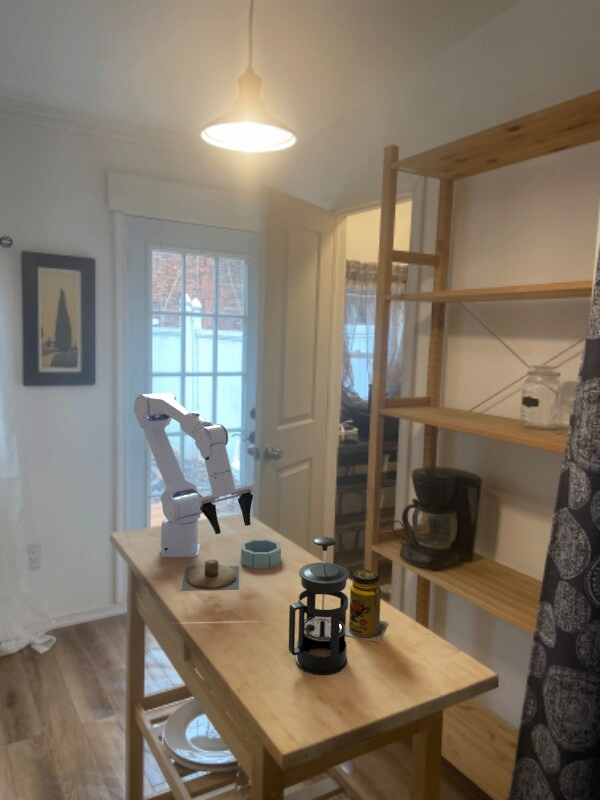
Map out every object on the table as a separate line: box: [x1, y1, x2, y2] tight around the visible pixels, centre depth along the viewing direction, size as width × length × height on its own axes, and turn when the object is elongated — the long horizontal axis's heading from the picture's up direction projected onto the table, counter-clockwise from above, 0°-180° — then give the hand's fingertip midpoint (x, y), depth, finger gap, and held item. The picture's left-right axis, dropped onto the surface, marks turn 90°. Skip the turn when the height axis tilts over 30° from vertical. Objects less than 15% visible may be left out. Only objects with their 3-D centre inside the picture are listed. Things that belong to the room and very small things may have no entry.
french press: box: [288, 536, 350, 676], centre depth 107 cm, size 12×9×23 cm
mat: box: [180, 565, 240, 592], centre depth 142 cm, size 13×13×1 cm
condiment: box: [345, 569, 389, 643], centre depth 120 cm, size 7×8×12 cm
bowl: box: [240, 538, 282, 569], centre depth 153 cm, size 10×10×4 cm
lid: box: [187, 559, 236, 588], centre depth 142 cm, size 12×12×4 cm
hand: (233, 529), depth 143 cm, fingers open, 7 cm apart
